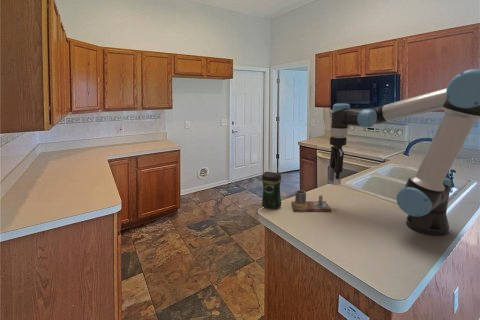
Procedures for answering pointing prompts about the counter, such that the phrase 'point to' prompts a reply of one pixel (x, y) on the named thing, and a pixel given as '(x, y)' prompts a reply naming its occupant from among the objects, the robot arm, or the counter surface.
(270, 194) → the coffee jar
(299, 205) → the sleeve ochre
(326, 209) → the pin board
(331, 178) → the grey octagonal sleeve
